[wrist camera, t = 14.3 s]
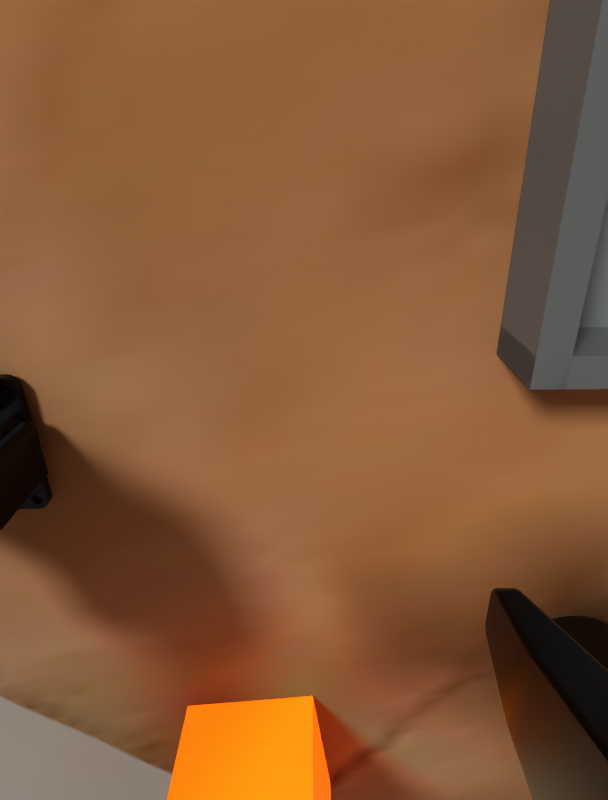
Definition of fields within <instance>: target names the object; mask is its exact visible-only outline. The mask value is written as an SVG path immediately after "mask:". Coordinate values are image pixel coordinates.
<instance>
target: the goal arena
mask: <svg viewBox="0 0 608 800" xmlns="http://www.w3.org/2000/svg"><path fill="white" fill-rule="evenodd" d="M497 355H498V356H499V357H500V358H501V359H502V360H503V361H504V362H505V364H506V365H507V366H508V367H509V368H510V369H511V370H512V371H513V372H514V373H515V374H516V375H517V377H518V378H519V379H520V380H521V381H522V382H523V383H524V384H525V385H526V386H527V387H528V388H529V389H530V390H562V389H608V0H550V5H549V11H548V18H547V25H546V31H545V38H544V44H543V51H542V58H541V64H540V71H539V78H538V84H537V91H536V97H535V104H534V111H533V117H532V124H531V130H530V137H529V144H528V150H527V157H526V164H525V170H524V177H523V183H522V190H521V197H520V203H519V210H518V217H517V223H516V230H515V236H514V243H513V250H512V256H511V263H510V269H509V276H508V283H507V289H506V296H505V303H504V309H503V316H502V322H501V329H500V336H499V342H498V349H497Z"/></svg>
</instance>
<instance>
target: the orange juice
mask: <svg viewBox="0 0 608 800" xmlns="http://www.w3.org/2000/svg"><path fill="white" fill-rule="evenodd" d="M167 800H331V790H330V778H329V774H328V769H327V764H326V759H325V754H324V749H323V744H322V739H321V734H320V729H319V724H318V719H317V714H316V709H315V704H314V699H313V696H306V697H294V698H281V699H268V700H256V701H243V702H231V703H218V704H205V705H193V706H188V707H187V712H186V716H185V721H184V725H183V730H182V734H181V738H180V743H179V747H178V752H177V756H176V761H175V765H174V770H173V774H172V779H171V783H170V787H169V792H168V796H167Z"/></svg>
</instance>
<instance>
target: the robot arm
mask: <svg viewBox="0 0 608 800" xmlns="http://www.w3.org/2000/svg"><path fill="white" fill-rule="evenodd" d="M3 384H6V385H8V386H9V387H10V389H11V391H8V390H7V389H5V387H4V386H3ZM47 473H48V471H47V468H46V464H45V460H44V457H43V453H42V449H41V446H40V442H39V439H38V435H37V431H36V428H35V426H34V424H33V423H32V421H31V418H30V414H29V411H28V407H27V403H26V400H25V396H24V393H23V389H22V385H21V383H20V381H19V380H18V379H17V378H16V377H14V376H12V375H7V374H5V375H0V531H1V530H2V528H3V527H4V526H5V525H6V524H7V522H8V521H9V520H10V519H11V517H12V516H13V515H14V514H15V513H16V511H17V510H18V509H40V508H44V507H46V506H47V504H48V503H49V502H50V500H51V498H52V494H51V490H50V486H49V483H48V479H47V476H46V475H47ZM36 495H38V496H40V497H41V498H42V499H40V498H38V497H37V496H36ZM485 627H486V636H487V640H488V644H489V649H490V653H491V657H492V661H493V666H494V670H495V674H496V678H497V683H498V687H499V691H500V696H501V700H502V704H503V708H504V712H505V716H506V720H507V724H508V728H509V731H510V734H511V737H512V740H513V743H514V746H515V749H516V752H517V755H518V758H519V761H520V764H521V767H522V769H523V772H524V775H525V778H526V781H527V784H528V787H529V790H530V793H531V796H532V798H533V800H608V670H607V669H606V668H605V667H604V666H603V665H602V664H600V663H599V662H598V661H597V660H596V659H595V658H594V657H593V656H592V655H590V654H589V653H588V652H587V651H586V650H585V649H584V648H583V647H582V646H580V645H579V644H578V643H577V642H576V641H575V640H574V639H573V638H572V637H571V636H569V635H568V634H567V633H566V632H565V631H564V630H563V629H562V628H561V627H559V626H558V625H557V624H556V623H555V622H554V621H553V620H552V619H551V618H549V617H548V616H547V615H546V614H545V613H544V612H543V611H542V610H541V609H540V608H538V607H537V606H536V605H535V604H534V603H533V602H532V601H531V600H530V599H528V598H527V597H526V596H525V595H524V594H523V593H522V592H521V591H519V590H517V589H515V588H496V589H493V591H492V592H491V595H490V601H489V606H488V611H487V617H486V624H485Z"/></svg>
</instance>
